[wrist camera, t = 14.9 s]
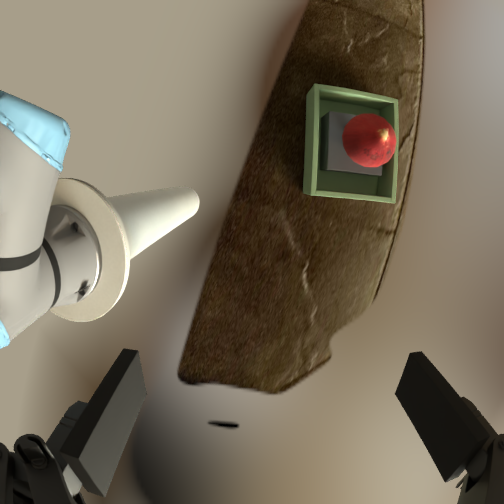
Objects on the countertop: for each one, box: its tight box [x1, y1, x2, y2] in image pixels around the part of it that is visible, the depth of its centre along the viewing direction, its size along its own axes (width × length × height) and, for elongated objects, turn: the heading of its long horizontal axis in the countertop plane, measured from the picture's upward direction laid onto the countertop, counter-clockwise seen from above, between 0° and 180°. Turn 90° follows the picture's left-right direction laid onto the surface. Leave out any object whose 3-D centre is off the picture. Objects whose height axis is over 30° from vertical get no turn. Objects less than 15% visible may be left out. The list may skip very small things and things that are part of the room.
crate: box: [303, 84, 398, 203], centre depth 33 cm, size 11×13×5 cm
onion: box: [342, 113, 397, 167], centre depth 27 cm, size 6×6×8 cm
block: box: [319, 111, 382, 176], centre depth 33 cm, size 7×7×4 cm
